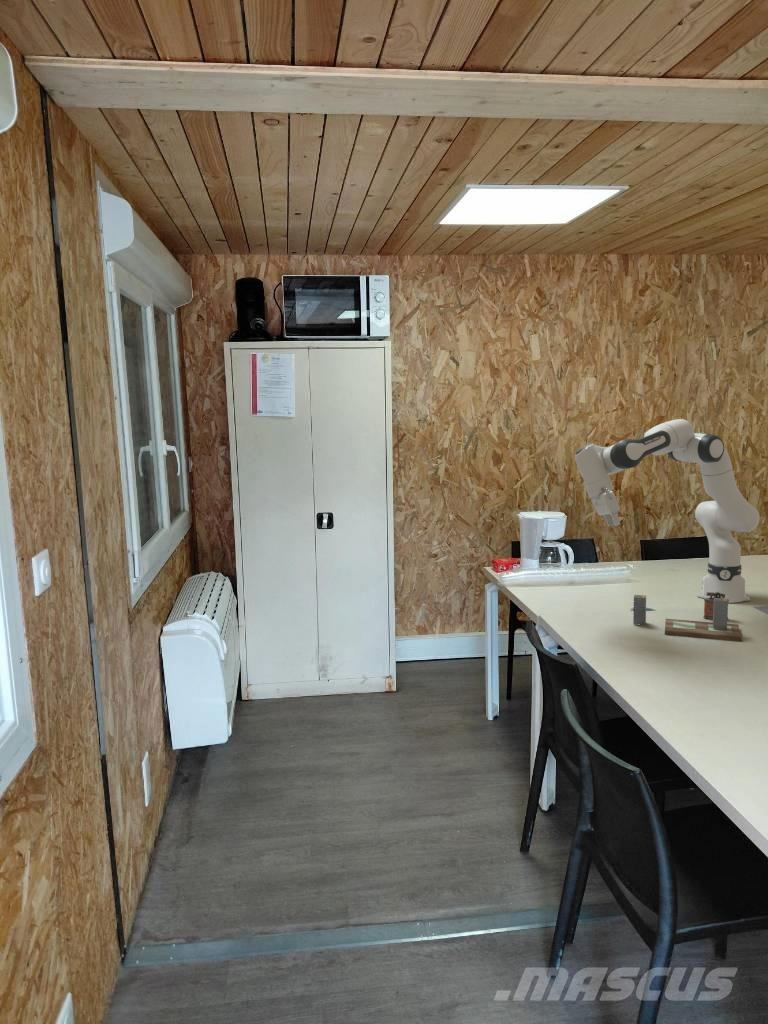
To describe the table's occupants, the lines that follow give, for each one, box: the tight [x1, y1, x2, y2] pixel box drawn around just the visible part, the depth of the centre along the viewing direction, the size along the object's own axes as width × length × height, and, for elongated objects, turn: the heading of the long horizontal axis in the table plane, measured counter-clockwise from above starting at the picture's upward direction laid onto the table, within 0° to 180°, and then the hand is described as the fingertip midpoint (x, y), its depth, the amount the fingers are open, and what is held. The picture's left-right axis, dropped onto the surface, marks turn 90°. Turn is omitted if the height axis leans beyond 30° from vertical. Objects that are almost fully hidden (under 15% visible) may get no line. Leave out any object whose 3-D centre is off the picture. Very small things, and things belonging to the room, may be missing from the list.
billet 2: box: [712, 598, 729, 631], centre depth 222 cm, size 4×4×10 cm
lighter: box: [703, 592, 729, 621], centre depth 238 cm, size 8×3×10 cm, turn 74°
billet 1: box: [632, 594, 647, 626], centre depth 236 cm, size 4×4×10 cm
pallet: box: [664, 618, 743, 642], centre depth 225 cm, size 14×23×2 cm, turn 66°
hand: (614, 525), depth 231 cm, fingers open, 8 cm apart
